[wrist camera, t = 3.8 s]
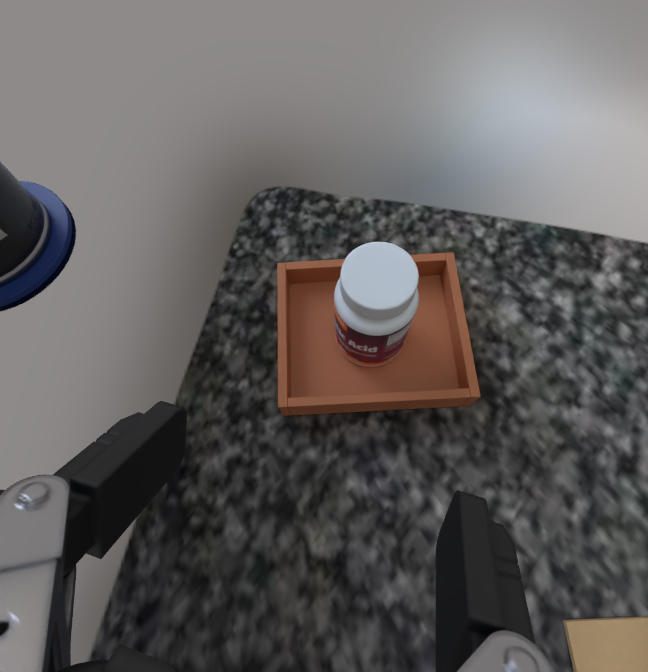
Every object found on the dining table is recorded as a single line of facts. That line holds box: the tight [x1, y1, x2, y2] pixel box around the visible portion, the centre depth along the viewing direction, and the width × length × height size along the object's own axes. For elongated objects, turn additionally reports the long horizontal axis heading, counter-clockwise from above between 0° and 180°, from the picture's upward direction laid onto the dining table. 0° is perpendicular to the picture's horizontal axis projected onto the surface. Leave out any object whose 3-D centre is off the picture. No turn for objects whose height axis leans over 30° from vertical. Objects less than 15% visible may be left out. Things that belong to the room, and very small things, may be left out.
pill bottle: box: [334, 242, 419, 367], centre depth 26 cm, size 5×5×8 cm
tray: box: [278, 253, 480, 416], centre depth 29 cm, size 12×10×2 cm
